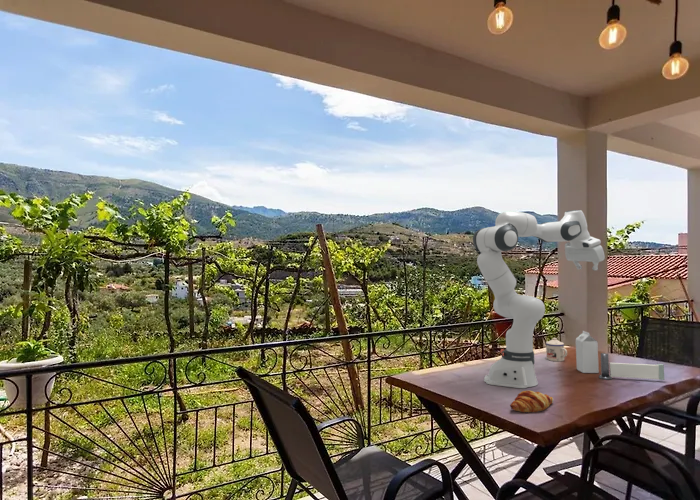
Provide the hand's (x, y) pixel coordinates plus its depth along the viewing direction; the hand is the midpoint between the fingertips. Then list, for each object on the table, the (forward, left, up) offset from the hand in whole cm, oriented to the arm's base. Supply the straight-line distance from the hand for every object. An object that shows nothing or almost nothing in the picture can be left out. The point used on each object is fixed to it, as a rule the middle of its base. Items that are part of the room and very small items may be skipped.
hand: (587, 269), depth 202 cm
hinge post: (+4, -10, -49) cm, 50 cm away
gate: (+16, -10, -48) cm, 52 cm away
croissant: (-31, -59, -50) cm, 83 cm away
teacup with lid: (-11, +22, -49) cm, 55 cm away
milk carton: (-1, +1, -49) cm, 50 cm away
